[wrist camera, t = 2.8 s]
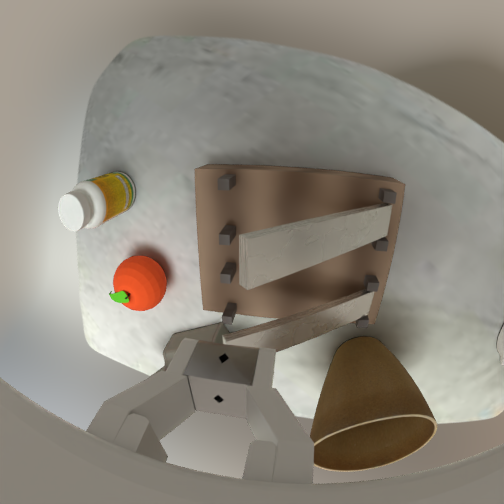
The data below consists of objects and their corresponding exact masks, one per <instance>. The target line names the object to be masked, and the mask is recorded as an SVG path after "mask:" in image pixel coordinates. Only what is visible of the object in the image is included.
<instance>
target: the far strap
mask: <svg viewBox="0 0 504 504" xmlns="http://www.w3.org/2000/svg"><path fill="white" fill-rule="evenodd" d="M373 296H374V292H371V291H366V289H364V290H361V291H358V292H356V293H353V294H350V295H348V296H345V297H342V298H339V299H337V300H334V301H331V302H328V303H325V304H322V305H319V306H317V307H314V308H311V309H308V310H305V311H302V312H299V313H296V314H292V315H289V316H286V317H283V318H280V319H277V320H273V321H270V322H267V323H264V324H260V325H257V326H253V327H250V328H247V329H243V330H240V331H236V332H232V333H229V334H225V335H222V337H223V344H227V345H236V346H245V347H255V348H269V349H276V352H278V351H281V350H284V349H286V348H289V347H292V346H294V345H297V344H300V343H302V342H305V341H307V340H310V339H313V338H315V337H317V336H320V335H322V334H325V333H327V332H330V331H332V330H334V329H337V328H339V327H341V326H344V325H346V324H348V323H350V322H353V321H355V320H357V319H359V318H362V317H364V316H366V315H368V314H369V311H370V307H371V303H372V300H373Z"/></svg>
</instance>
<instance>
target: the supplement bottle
mask: <svg viewBox="0 0 504 504" xmlns="http://www.w3.org/2000/svg"><path fill="white" fill-rule="evenodd" d="M134 199H135V187H134V184H133V182H132V180H131V179H130V178H129V176H127V175H126V174H124V173H122V172H112V173H109V174H105V175H102V176H99V177H95V178H92V179H89V180H86V181H83V182H80V183H78V184H77V185H76V186H75V187H74V188H73V190H72V191H71V192H69V193H67V194H65V195H63V196H62V197H61V199H60V201H59V205H58V213H59V217H60V220H61V222H62V223H63V225H64V226H65V227H66V228H67V229H68V230H70V231H78V230H80V229H82V228H86V229H93V228H96V227H98V226H100V225H102V224H103V223H105V222H107V221H109V220H111V219H112V218H114V217H116V216H118V215H120V214H122V213H124V212H125V211H127V210H128V209H130V207H131V206H132V205H133V202H134Z"/></svg>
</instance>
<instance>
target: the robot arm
mask: <svg viewBox="0 0 504 504" xmlns="http://www.w3.org/2000/svg"><path fill="white" fill-rule="evenodd" d="M497 350H498V352H499V354H500V363H501V364H502V365H503V366H504V325H503V327H502V329H501V331H500V334H499V337H498V340H497ZM275 355H276V349H269V348H255V347H245V346H236V345H227V344H220V343H214V342H208V341H203V340H195V339H190V338H184V339H183V340H182V341H181V343H180V345H179V347H178V349H177V351H176V353H175V355H174V357H173V359H172V361H171V362H170V364H169V366H168V368H167V370H166V371H160V372H158V373H156V374H155V375H153V376H151V377H149V378H147V379H146V380H144V381H142V382H140V383H138V384H136V385H135V386H133V387H131V388H129V389H127V390H125V391H123V392H121V393H120V394H118V395H116V396H114V397H112V398H110V399H108V400H106V401H105V402H104V403H103V405H102V406H101V408H100V409H99V411H98V412H97V414H96V416H95V417H94V419H93V420H92V422H91V424H90V425H89V427H88V429H87V431H84V430H82V429H80V428H78V427H76V426H74V425H73V424H70V423H69V422H67V421H65V420H63V419H62V418H60V417H57V416H56V415H55V414H53V413H51V412H49V411H48V410H46V409H44V408H43V407H41V406H40V405H38V404H37V403H35V402H33V401H32V400H30V399H29V398H27V397H26V396H25V395H23V394H22V393H20V392H19V391H17V390H16V389H15V388H13V387H12V386H11V385H9V384H8V383H7V382H5V381H4V380H3V379H1V378H0V504H504V444H502V445H499V446H497V447H495V448H492V449H490V450H488V451H485V452H482V453H480V454H477V455H475V456H472V457H469V458H466V459H463V460H460V461H457V462H454V463H452V464H448V465H444V466H441V467H438V468H433V469H430V470H426V471H421V472H417V473H412V474H408V475H402V476H397V477H391V478H385V479H377V480H370V481H359V482H348V483H327V484H313V465H314V442H313V441H312V439H311V438H310V437H309V435H308V434H307V433H306V431H305V430H304V428H303V427H302V425H301V424H300V423H299V422H298V420H297V418H296V417H295V415H294V414H293V413H292V411H291V410H290V408H289V407H288V405H287V404H286V402H285V401H284V399H283V398H282V396H281V395H280V394H279V392H278V391H277V389H276V388H272V385H273V375H274V365H275ZM195 410H196V411H203V412H208V413H214V414H222V415H227V416H232V417H238V418H245V419H247V422H248V424H249V426H250V428H251V431H252V433H253V435H254V437H255V439H256V440H255V441H253V442H252V443H250V446H249V450H248V455H247V460H246V464H245V469H244V473H243V477H242V479H240V478H233V477H227V476H221V475H215V474H211V473H206V472H201V471H197V470H193V469H189V468H185V467H181V466H177V465H173V464H170V463H166V460H167V457H168V456H167V454H166V452H165V450H164V449H163V447H162V445H161V443H160V441H159V440H160V439H162V438H163V437H165V436H166V435H167V434H168V433H169V432H171V431H172V430H173V429H175V428H176V427H177V426H178V425H180V424H181V423H182V422H183V421H185V420H186V419H187V418H188V417H190V416H191V415H192V414H193V413H194V412H195Z"/></svg>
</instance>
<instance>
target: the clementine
mask: <svg viewBox="0 0 504 504" xmlns="http://www.w3.org/2000/svg"><path fill="white" fill-rule="evenodd" d="M113 285H114V291H115V293H114V294H111V292H112V291H111V292H110V293H109V295H110V297H111V299H112V300H114V301H115V302H118V303H122V304H123V305H125V306H126V307H128V308H130V309H132V310H136V311H145V310H148V309H151V308H153V307H155V306H156V305H157V304H158V303H160V302H161V300H162V298H163V297H164V295H165V292H166V286H167V282H166V276H165V273H164V271H163V269H162V268H161V266H160V265H159V264H158V263H157V262H156V261H154V260H153V259H151V258H149V257H147V256H132V257H130V258H128V259H126V260H124V261H123V262H122V263H121V264H120V265H119V267H118V268H117V270H116V272H115V275H114V280H113Z"/></svg>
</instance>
